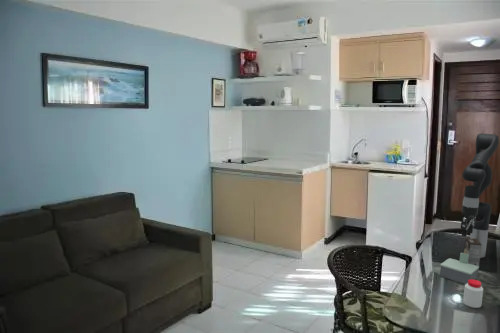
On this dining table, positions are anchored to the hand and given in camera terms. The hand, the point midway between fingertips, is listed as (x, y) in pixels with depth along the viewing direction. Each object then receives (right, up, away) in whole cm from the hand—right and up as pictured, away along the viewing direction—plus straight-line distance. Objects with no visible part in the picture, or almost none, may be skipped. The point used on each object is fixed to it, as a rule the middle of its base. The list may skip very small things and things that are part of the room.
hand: (467, 234), depth 226 cm
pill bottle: (-12, -28, -28) cm, 41 cm away
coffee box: (+8, -21, +12) cm, 26 cm away
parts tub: (-5, -23, 0) cm, 23 cm away
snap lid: (-5, -18, -1) cm, 18 cm away
